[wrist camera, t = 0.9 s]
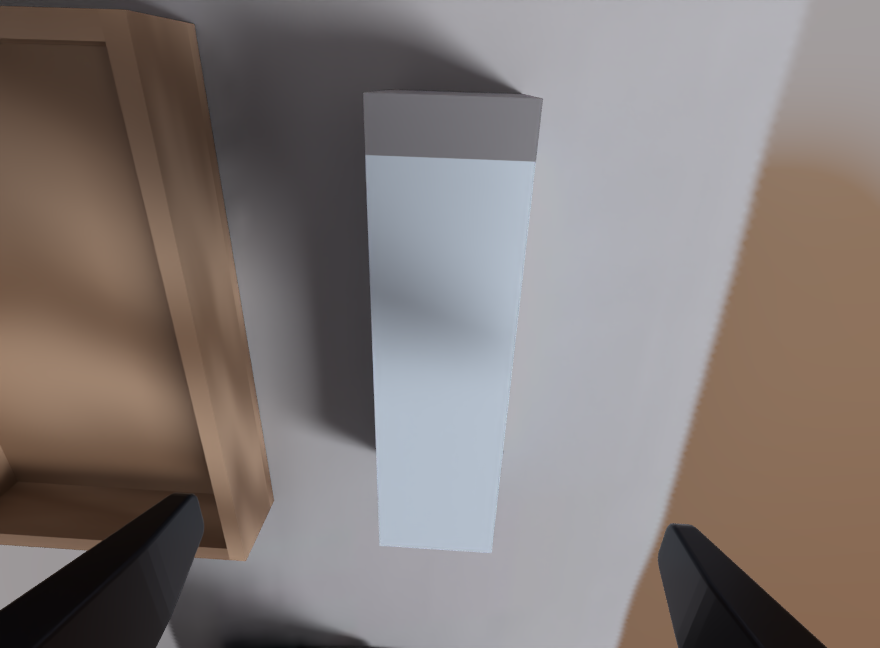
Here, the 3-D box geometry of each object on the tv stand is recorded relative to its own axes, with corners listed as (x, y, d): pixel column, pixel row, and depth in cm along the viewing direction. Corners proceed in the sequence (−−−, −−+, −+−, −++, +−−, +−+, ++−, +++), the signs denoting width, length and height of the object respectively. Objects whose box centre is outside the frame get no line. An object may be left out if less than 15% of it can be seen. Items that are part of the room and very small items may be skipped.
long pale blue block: (487, 464, 19) (491, 553, 16) (396, 459, 19) (379, 545, 16) (522, 94, 13) (543, 98, 10) (391, 89, 13) (363, 92, 10)
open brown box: (274, 500, 21) (245, 560, 18) (16, 484, 21) (-48, 541, 18) (194, 24, 13) (124, 9, 10) (-210, 11, 13) (-376, -5, 11)
